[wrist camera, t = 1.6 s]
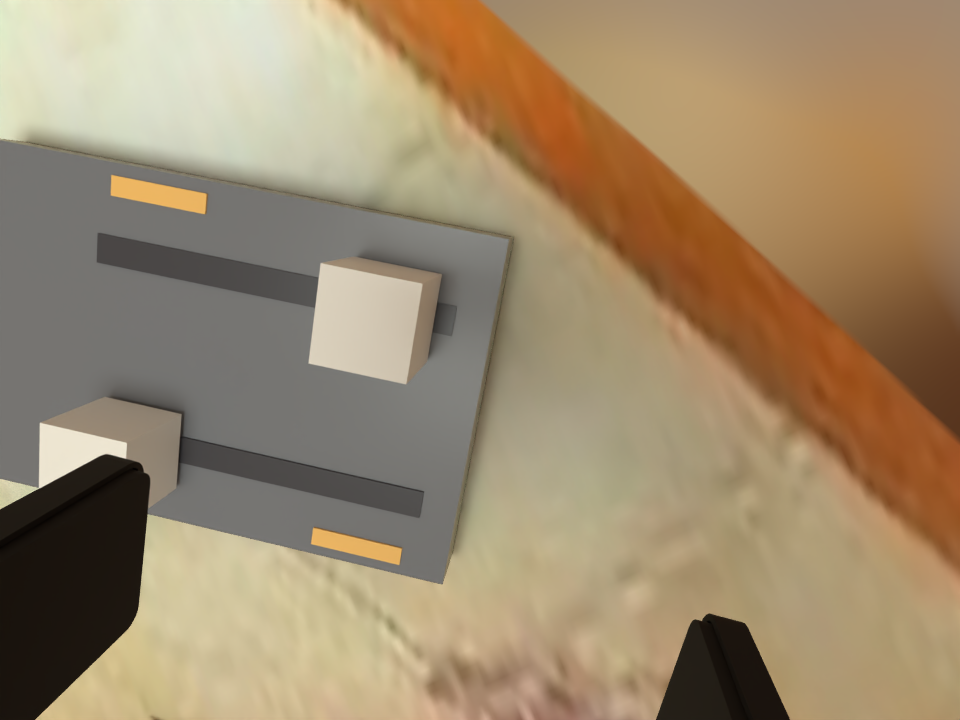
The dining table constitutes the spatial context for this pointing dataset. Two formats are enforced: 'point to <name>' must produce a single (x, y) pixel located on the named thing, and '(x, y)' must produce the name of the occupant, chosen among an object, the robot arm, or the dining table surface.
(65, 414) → the tab
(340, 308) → the tab
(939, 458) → the dining table surface
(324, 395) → the switch board
